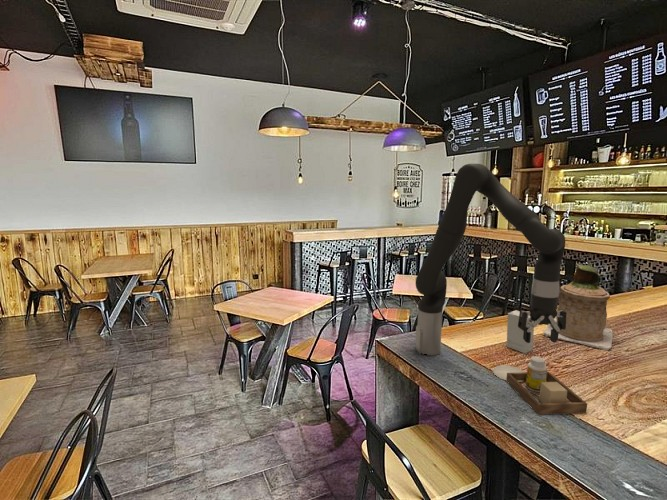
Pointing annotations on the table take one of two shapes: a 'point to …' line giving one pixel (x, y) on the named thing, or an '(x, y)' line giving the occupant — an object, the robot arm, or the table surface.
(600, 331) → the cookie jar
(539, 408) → the wooden frame
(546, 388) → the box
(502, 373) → the coaster
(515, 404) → the table surface
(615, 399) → the table surface
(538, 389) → the supplement bottle
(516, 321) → the skincare box
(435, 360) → the table surface
